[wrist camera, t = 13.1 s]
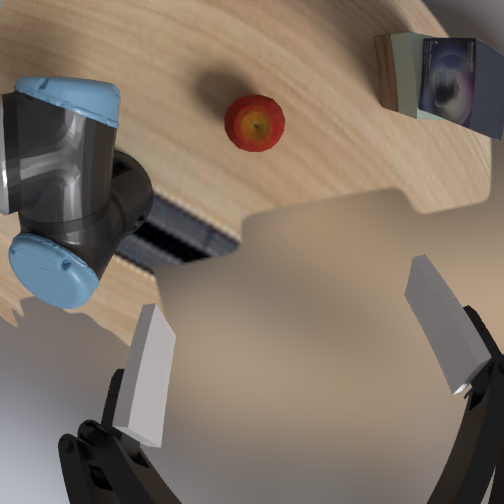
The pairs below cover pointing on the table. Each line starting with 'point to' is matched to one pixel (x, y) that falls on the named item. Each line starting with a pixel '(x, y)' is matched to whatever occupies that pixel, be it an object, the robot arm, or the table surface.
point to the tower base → (386, 72)
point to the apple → (254, 123)
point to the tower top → (409, 73)
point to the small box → (464, 84)
